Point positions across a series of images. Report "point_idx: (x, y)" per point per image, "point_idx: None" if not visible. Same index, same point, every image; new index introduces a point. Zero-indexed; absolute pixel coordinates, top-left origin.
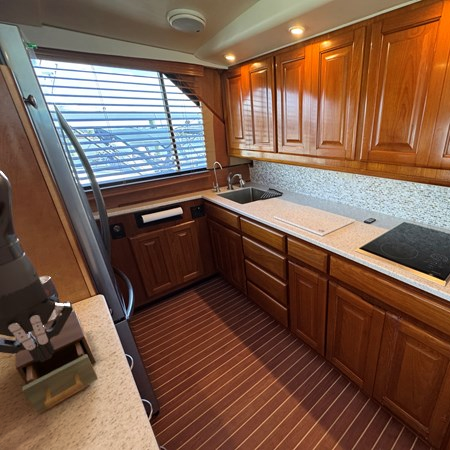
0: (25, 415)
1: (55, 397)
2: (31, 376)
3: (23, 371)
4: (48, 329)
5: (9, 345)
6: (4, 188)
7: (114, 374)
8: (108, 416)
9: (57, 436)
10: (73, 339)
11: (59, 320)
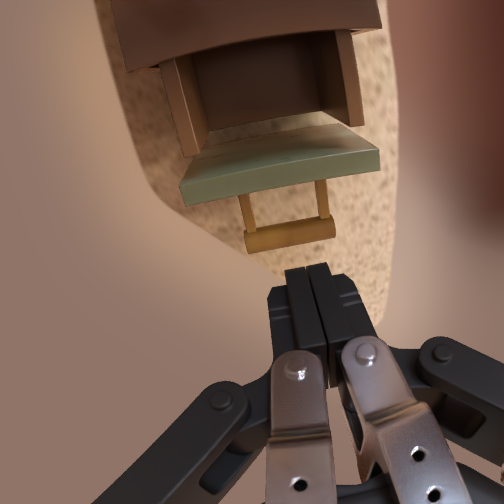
0: (167, 133)
1: (272, 245)
2: (193, 138)
3: (150, 68)
4: (415, 390)
5: (233, 480)
6: None
7: (373, 139)
8: (343, 259)
9: None
10: (340, 16)
11: (482, 452)
